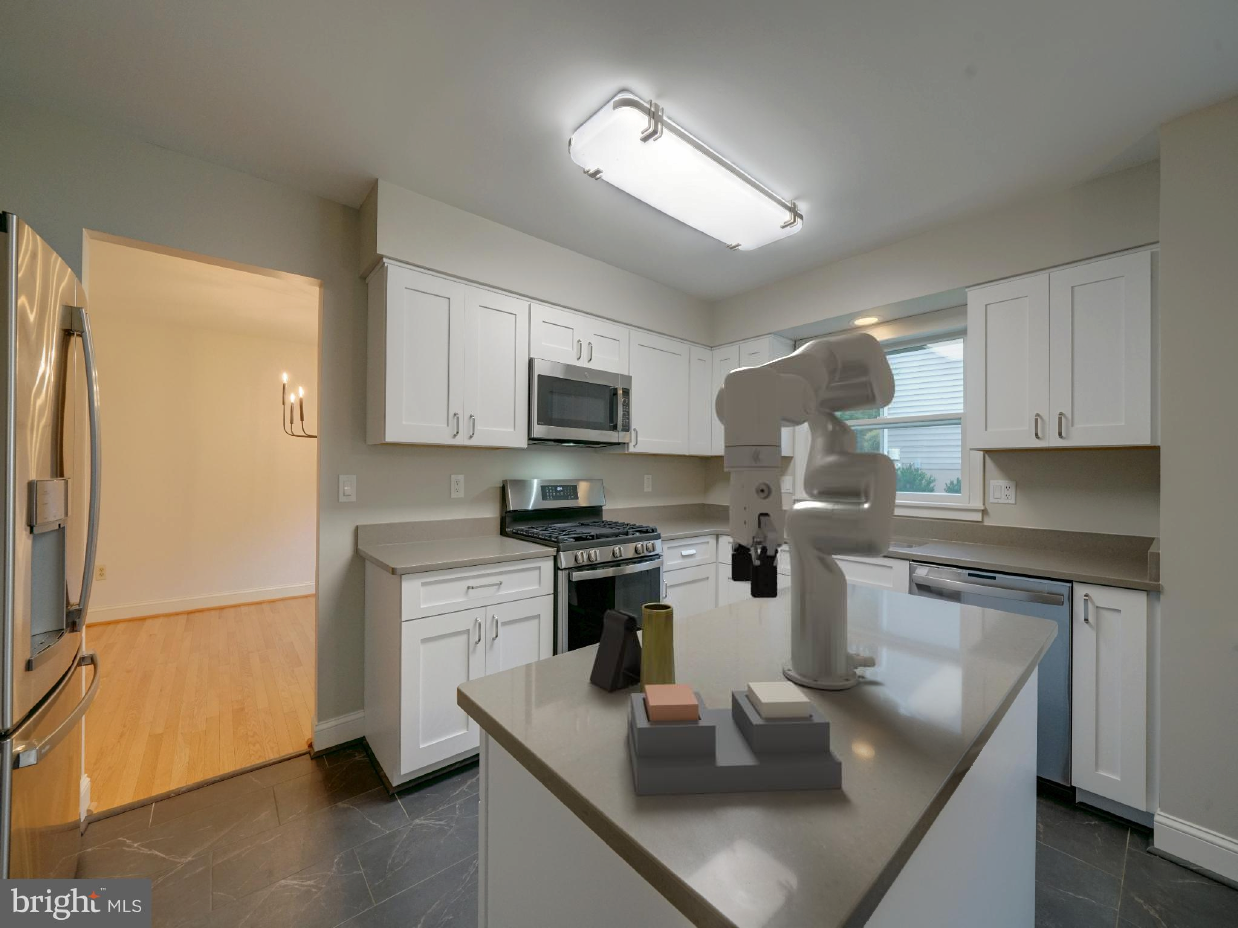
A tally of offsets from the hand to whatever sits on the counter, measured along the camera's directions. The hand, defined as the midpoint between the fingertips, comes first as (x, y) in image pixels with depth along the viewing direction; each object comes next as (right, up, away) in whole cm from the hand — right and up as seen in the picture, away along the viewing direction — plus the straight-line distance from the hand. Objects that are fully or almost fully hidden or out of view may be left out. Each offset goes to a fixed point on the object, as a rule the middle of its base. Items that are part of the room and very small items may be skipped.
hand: (752, 588), depth 68 cm
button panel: (-4, -21, -3) cm, 22 cm away
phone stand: (-18, -22, +22) cm, 35 cm away
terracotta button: (-11, -16, -3) cm, 20 cm away
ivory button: (+3, -16, -2) cm, 16 cm away
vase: (-11, -22, +17) cm, 30 cm away
